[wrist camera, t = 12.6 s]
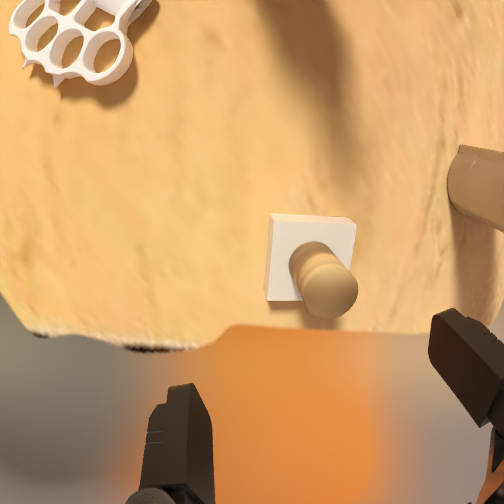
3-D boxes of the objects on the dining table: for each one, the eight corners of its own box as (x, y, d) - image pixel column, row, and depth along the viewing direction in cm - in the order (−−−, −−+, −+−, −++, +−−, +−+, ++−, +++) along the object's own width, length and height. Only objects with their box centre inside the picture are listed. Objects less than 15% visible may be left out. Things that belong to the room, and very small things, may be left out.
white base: (269, 213, 35) (274, 220, 32) (346, 217, 36) (357, 224, 33) (263, 288, 38) (267, 300, 35) (335, 288, 39) (343, 299, 36)
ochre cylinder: (290, 240, 33) (308, 269, 26) (336, 241, 33) (362, 269, 27) (286, 284, 35) (301, 320, 28) (329, 284, 35) (352, 317, 29)
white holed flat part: (180, 9, 26) (97, 115, 29) (73, -41, 21) (3, 53, 24) (176, -2, 23) (85, 114, 26) (63, -51, 18) (-11, 50, 21)
